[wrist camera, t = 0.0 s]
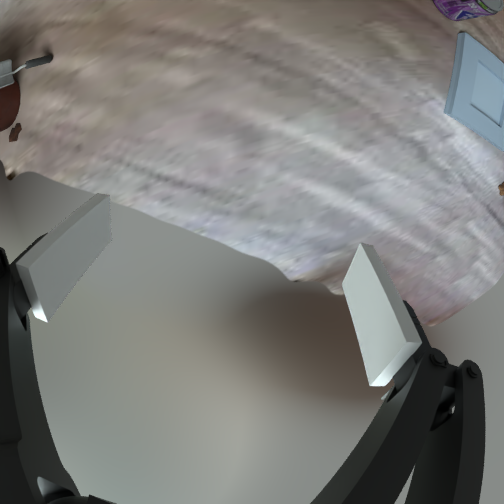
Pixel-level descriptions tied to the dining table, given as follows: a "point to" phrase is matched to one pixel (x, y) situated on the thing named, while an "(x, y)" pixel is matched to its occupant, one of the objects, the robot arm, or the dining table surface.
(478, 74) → the baseplate
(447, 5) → the beverage can
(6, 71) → the potted plant
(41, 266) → the robot arm
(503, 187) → the figurine
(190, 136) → the dining table surface
